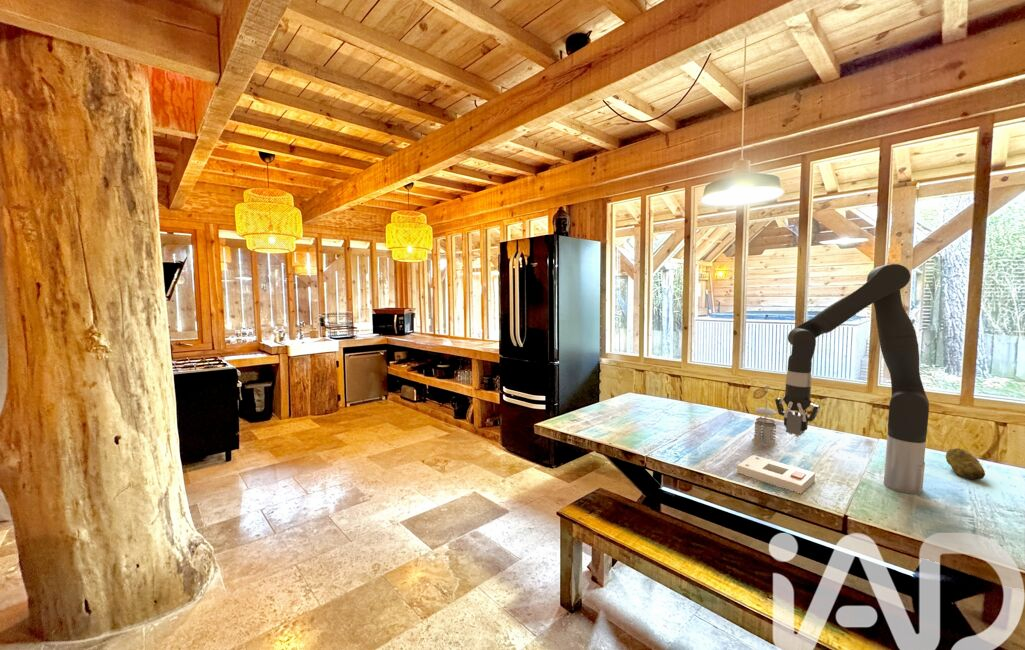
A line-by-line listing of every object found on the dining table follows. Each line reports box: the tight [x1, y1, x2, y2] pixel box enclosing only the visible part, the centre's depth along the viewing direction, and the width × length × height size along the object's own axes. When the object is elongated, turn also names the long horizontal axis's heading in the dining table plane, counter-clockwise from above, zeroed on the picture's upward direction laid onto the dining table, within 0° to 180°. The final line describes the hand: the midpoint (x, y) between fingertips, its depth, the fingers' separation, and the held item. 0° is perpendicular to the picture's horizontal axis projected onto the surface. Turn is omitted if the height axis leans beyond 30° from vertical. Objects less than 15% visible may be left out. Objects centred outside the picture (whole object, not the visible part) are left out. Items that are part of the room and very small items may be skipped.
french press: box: [751, 385, 779, 448], centre depth 176 cm, size 10×12×25 cm
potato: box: [945, 448, 986, 481], centre depth 147 cm, size 8×13×8 cm, turn 143°
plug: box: [785, 411, 805, 438], centre depth 150 cm, size 4×4×9 cm
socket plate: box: [736, 454, 816, 495], centre depth 146 cm, size 20×14×4 cm
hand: (795, 428), depth 150 cm, fingers closed on plug, 4 cm apart
